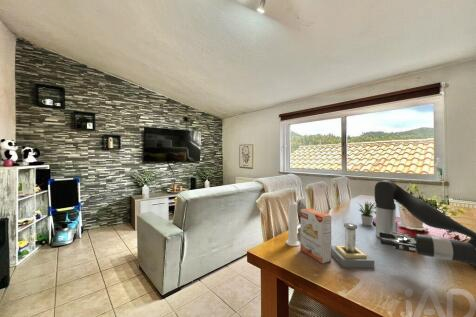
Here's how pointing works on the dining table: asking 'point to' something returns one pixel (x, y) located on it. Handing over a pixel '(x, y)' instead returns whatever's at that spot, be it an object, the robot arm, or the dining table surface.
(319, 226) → the cracker box
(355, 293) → the dining table surface
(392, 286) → the dining table surface
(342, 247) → the grey square socket base
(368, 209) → the house plant
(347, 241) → the shaft
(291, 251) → the dining table surface
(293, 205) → the candle
